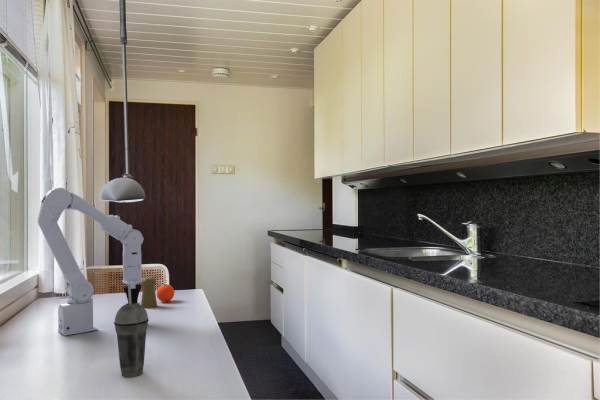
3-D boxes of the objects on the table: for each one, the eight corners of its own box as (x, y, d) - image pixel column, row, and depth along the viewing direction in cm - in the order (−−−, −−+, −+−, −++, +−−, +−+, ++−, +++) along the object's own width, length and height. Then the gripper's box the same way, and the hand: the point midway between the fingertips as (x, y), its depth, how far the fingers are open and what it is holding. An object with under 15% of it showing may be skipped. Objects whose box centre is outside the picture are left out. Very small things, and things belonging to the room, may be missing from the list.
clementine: (156, 300, 192) (156, 282, 192) (174, 299, 194) (173, 281, 194) (156, 304, 184) (156, 285, 184) (175, 302, 186) (174, 284, 186)
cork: (159, 305, 182) (159, 276, 182) (153, 308, 176) (152, 278, 176) (144, 305, 183) (144, 276, 183) (137, 308, 177) (137, 278, 177)
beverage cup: (153, 367, 108) (152, 280, 109) (144, 379, 101) (142, 285, 101) (121, 368, 108) (120, 281, 108) (109, 380, 101) (108, 286, 101)
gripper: (145, 267, 148) (145, 311, 148) (144, 263, 162) (145, 302, 162) (121, 269, 146) (121, 313, 146) (123, 264, 160) (123, 304, 160)
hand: (132, 307), depth 154 cm, fingers closed
